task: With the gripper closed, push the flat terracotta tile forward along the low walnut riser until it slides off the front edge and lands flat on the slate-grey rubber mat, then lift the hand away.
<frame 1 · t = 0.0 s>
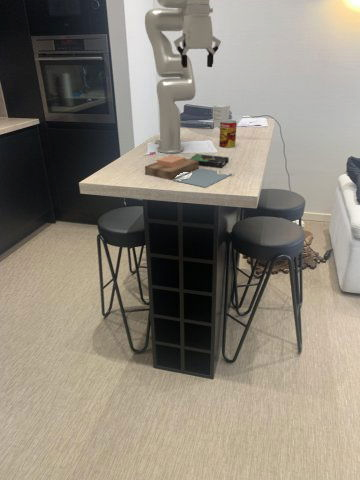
hand: (197, 67, 134), 37 cm above the worktop, tool pointing down, fingers open, 9 cm apart
canned food: (227, 146, 186), on the worktop
disk drive: (208, 165, 158), on the worktop
walnut riser: (172, 171, 148), on the worktop
slate mat: (203, 177, 140), on the worktop
terracotta tile: (171, 163, 147), point 3 cm above the worktop, touching walnut riser
supplement box: (220, 127, 232), on the worktop
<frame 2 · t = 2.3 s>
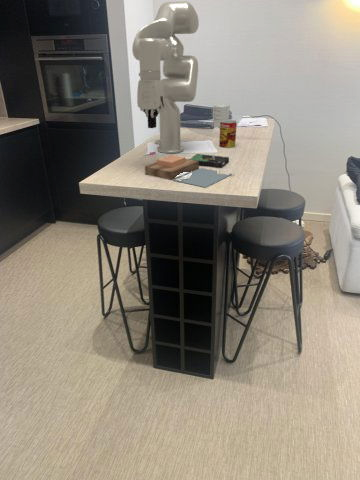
hand: (152, 127, 145), 16 cm above the worktop, tool pointing down, fingers closed
nothing on the worktop moved.
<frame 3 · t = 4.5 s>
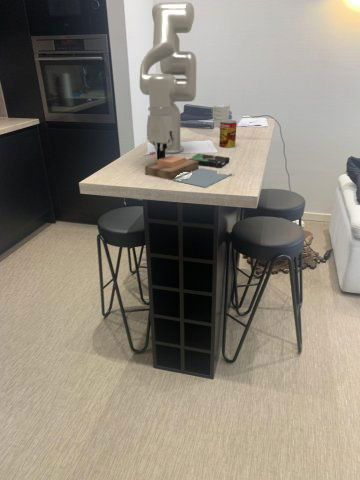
hand: (161, 159, 149), 4 cm above the worktop, tool pointing down, fingers closed
terracotta tile: (171, 163, 147), point 3 cm above the worktop, touching gripper, walnut riser
everything else where it was.
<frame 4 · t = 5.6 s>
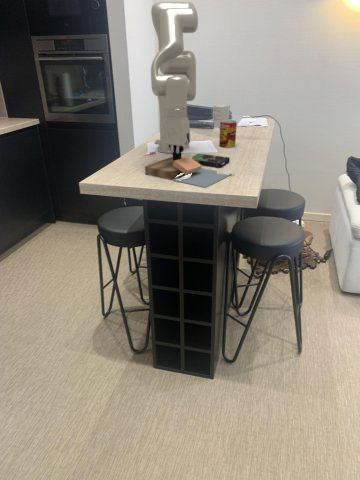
hand: (177, 162, 145), 4 cm above the worktop, tool pointing down, fingers closed
terracotta tile: (186, 167, 142), point 3 cm above the worktop, tilted 22°, touching walnut riser
everything else where it was.
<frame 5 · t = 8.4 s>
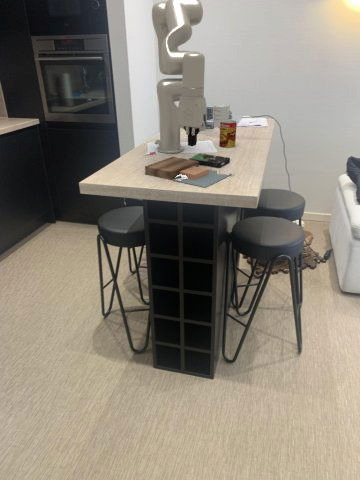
hand: (192, 145, 138), 11 cm above the worktop, tool pointing down, fingers closed
terracotta tile: (194, 175, 142), resting on slate mat
everything else where it was.
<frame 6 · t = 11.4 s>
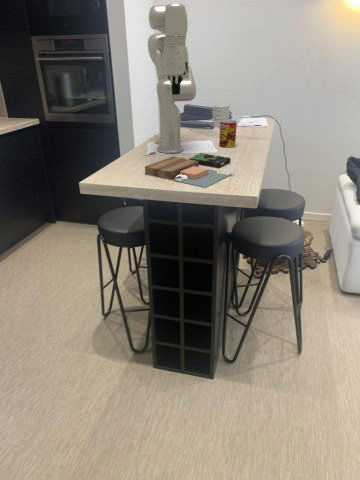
hand: (176, 94, 149), 27 cm above the worktop, tool pointing down, fingers closed
at the end: terracotta tile inside the target area (4.2 cm from its centre), resting on slate mat; terracotta tile tilted 0°; terracotta tile touching slate mat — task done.
